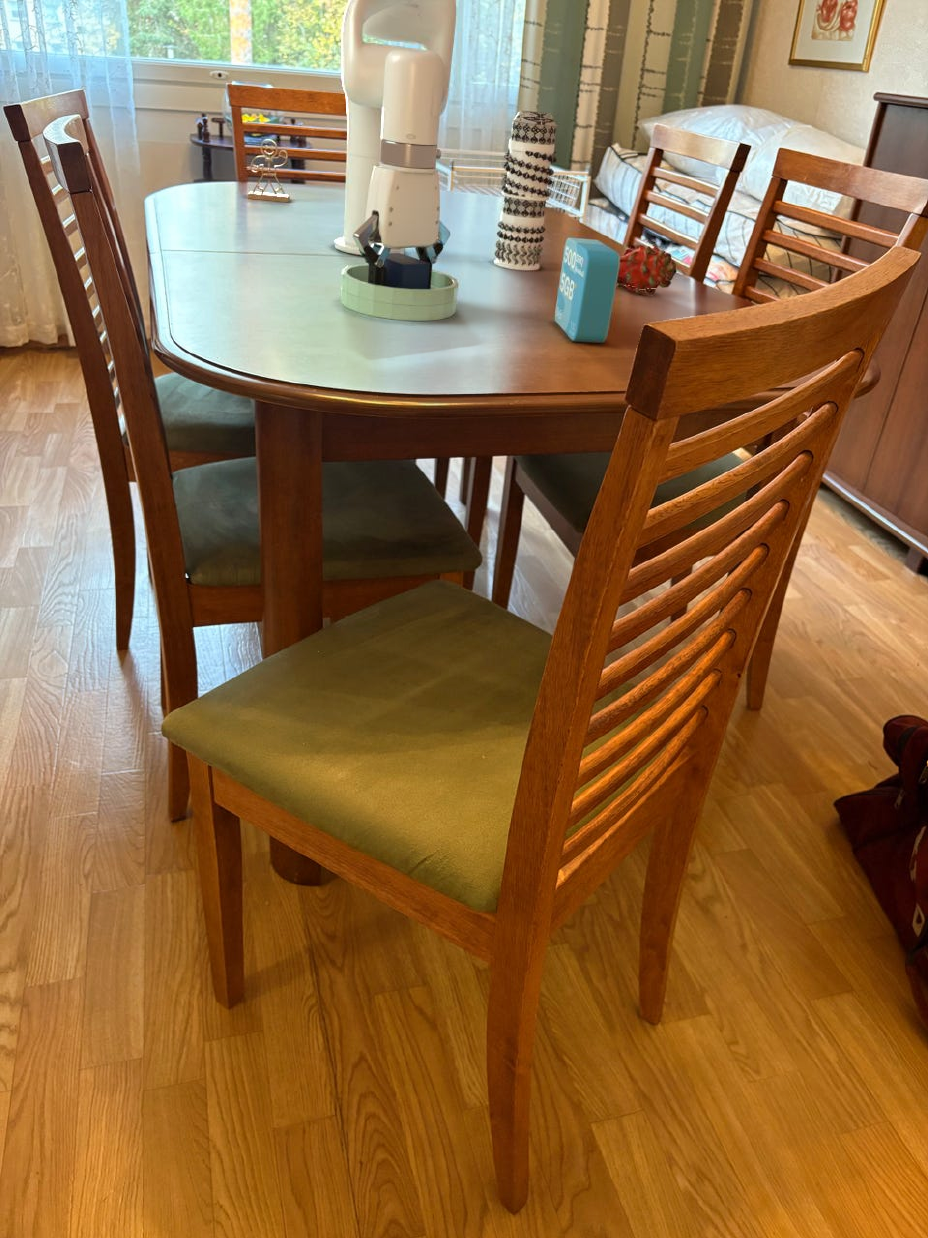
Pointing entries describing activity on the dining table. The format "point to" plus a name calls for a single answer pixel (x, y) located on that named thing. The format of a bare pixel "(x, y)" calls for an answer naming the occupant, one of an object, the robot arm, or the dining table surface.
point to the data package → (586, 289)
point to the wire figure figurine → (269, 195)
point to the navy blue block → (406, 272)
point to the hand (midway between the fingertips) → (399, 291)
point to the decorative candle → (525, 190)
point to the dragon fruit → (645, 269)
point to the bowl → (399, 297)
